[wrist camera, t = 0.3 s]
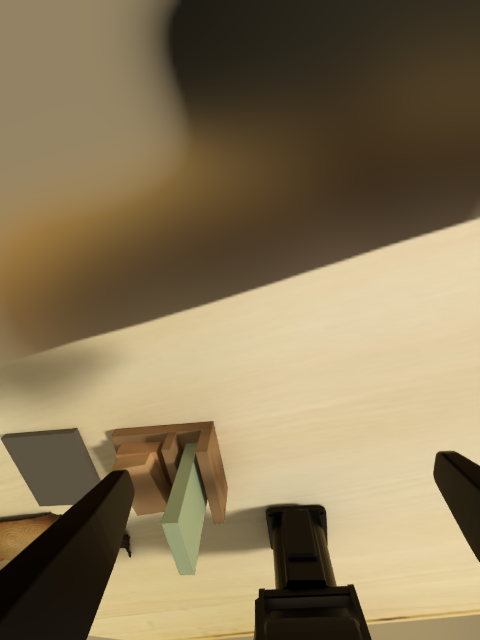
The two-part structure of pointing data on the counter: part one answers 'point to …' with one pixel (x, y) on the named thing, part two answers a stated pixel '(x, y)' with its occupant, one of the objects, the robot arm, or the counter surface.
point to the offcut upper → (145, 483)
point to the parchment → (28, 535)
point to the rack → (173, 450)
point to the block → (186, 512)
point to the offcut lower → (144, 448)
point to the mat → (53, 465)
